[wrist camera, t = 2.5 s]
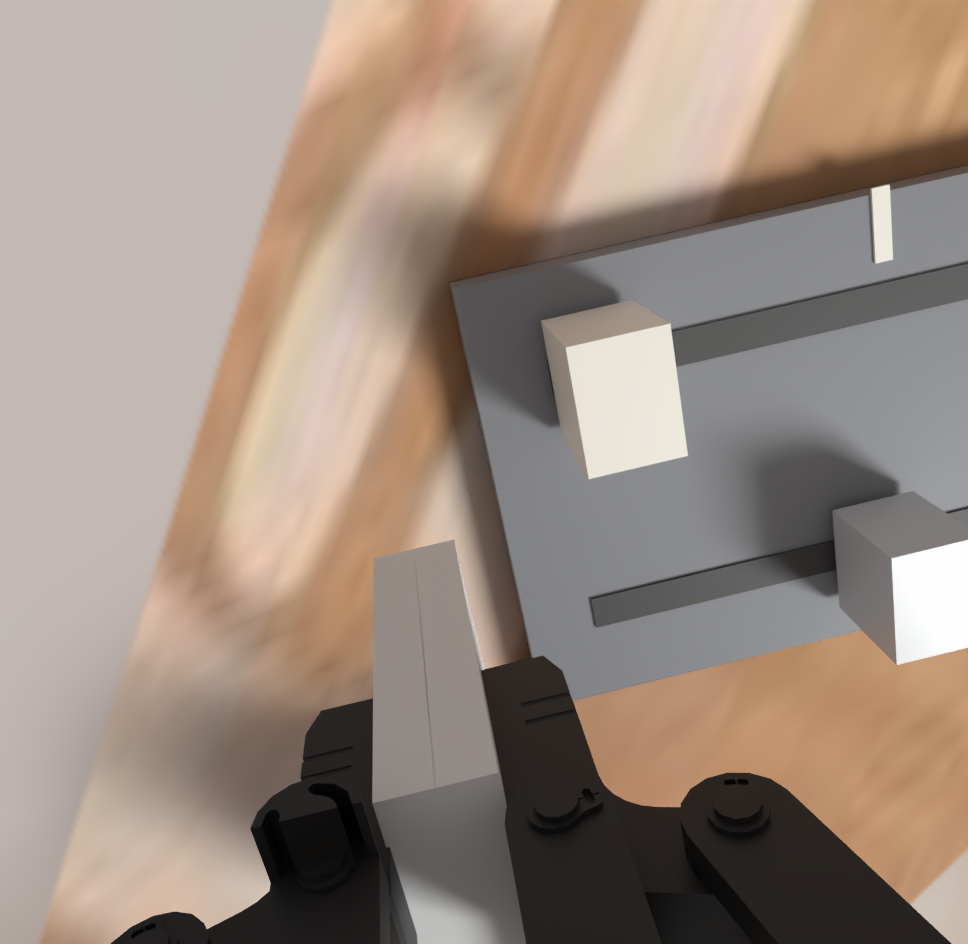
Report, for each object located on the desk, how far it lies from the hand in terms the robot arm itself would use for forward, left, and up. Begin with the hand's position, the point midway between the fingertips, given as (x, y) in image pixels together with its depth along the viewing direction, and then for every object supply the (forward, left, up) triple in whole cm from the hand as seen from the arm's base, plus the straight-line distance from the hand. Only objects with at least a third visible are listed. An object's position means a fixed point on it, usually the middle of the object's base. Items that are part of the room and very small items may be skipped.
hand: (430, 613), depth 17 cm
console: (+12, -5, -15) cm, 20 cm away
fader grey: (+15, -9, -14) cm, 22 cm away
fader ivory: (+6, 0, -14) cm, 15 cm away
